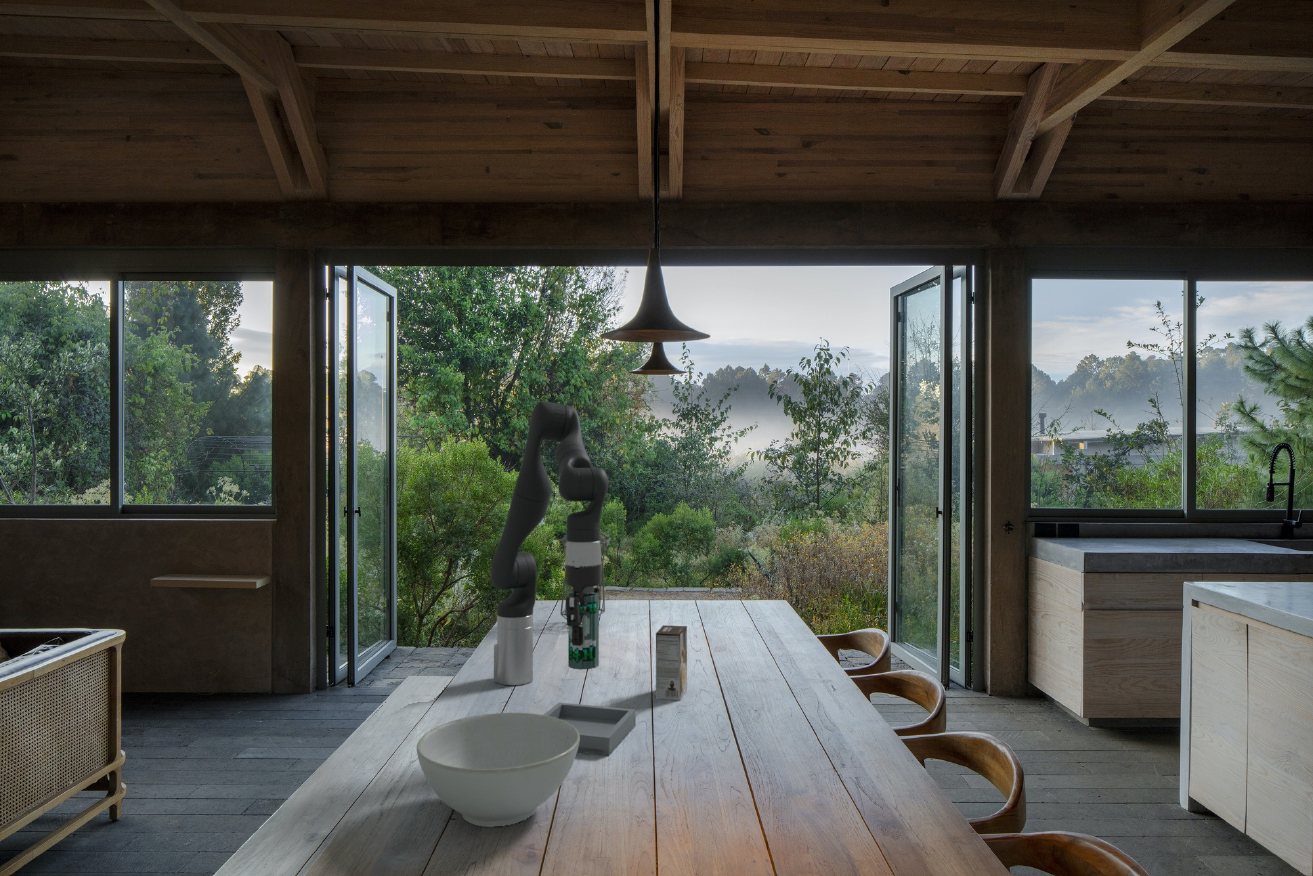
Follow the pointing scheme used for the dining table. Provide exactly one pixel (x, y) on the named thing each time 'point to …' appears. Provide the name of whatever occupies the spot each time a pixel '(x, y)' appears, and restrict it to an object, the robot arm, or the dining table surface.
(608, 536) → the geometric lantern
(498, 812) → the decorative bowl
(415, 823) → the dining table surface
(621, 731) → the tray
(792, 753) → the dining table surface
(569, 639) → the can
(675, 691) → the coffee box
